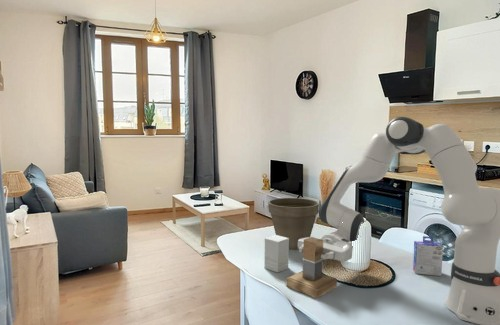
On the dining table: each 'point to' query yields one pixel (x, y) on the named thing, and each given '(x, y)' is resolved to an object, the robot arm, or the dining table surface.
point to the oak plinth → (311, 284)
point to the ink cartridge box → (428, 257)
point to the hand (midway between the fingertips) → (311, 253)
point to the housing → (312, 259)
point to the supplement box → (276, 253)
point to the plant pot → (293, 218)
